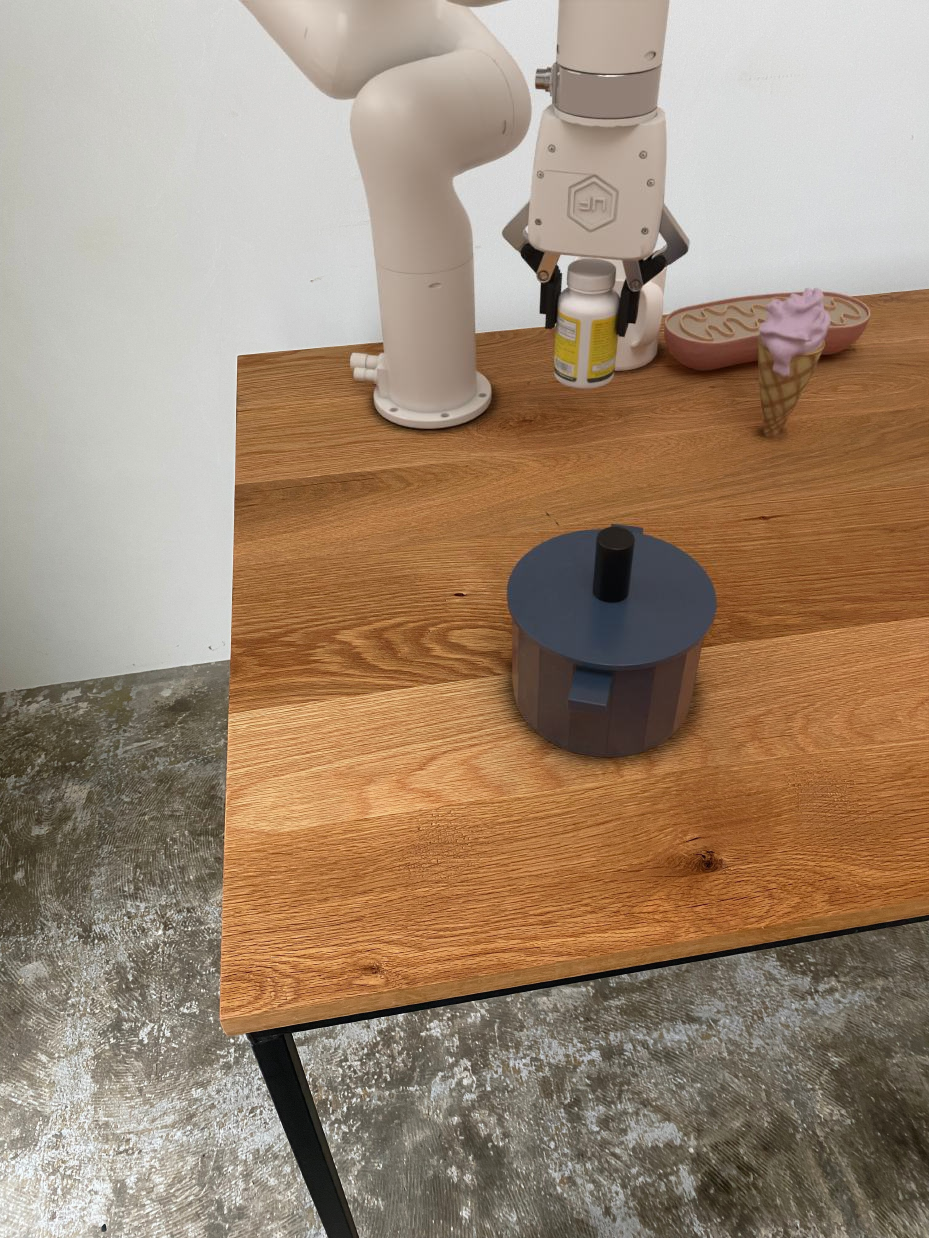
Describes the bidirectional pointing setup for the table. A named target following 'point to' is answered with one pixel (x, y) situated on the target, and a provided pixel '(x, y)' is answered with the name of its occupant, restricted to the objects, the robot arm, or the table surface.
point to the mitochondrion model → (750, 328)
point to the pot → (601, 699)
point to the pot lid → (611, 599)
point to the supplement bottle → (587, 325)
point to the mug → (639, 321)
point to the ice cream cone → (789, 354)
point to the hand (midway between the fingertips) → (587, 323)
